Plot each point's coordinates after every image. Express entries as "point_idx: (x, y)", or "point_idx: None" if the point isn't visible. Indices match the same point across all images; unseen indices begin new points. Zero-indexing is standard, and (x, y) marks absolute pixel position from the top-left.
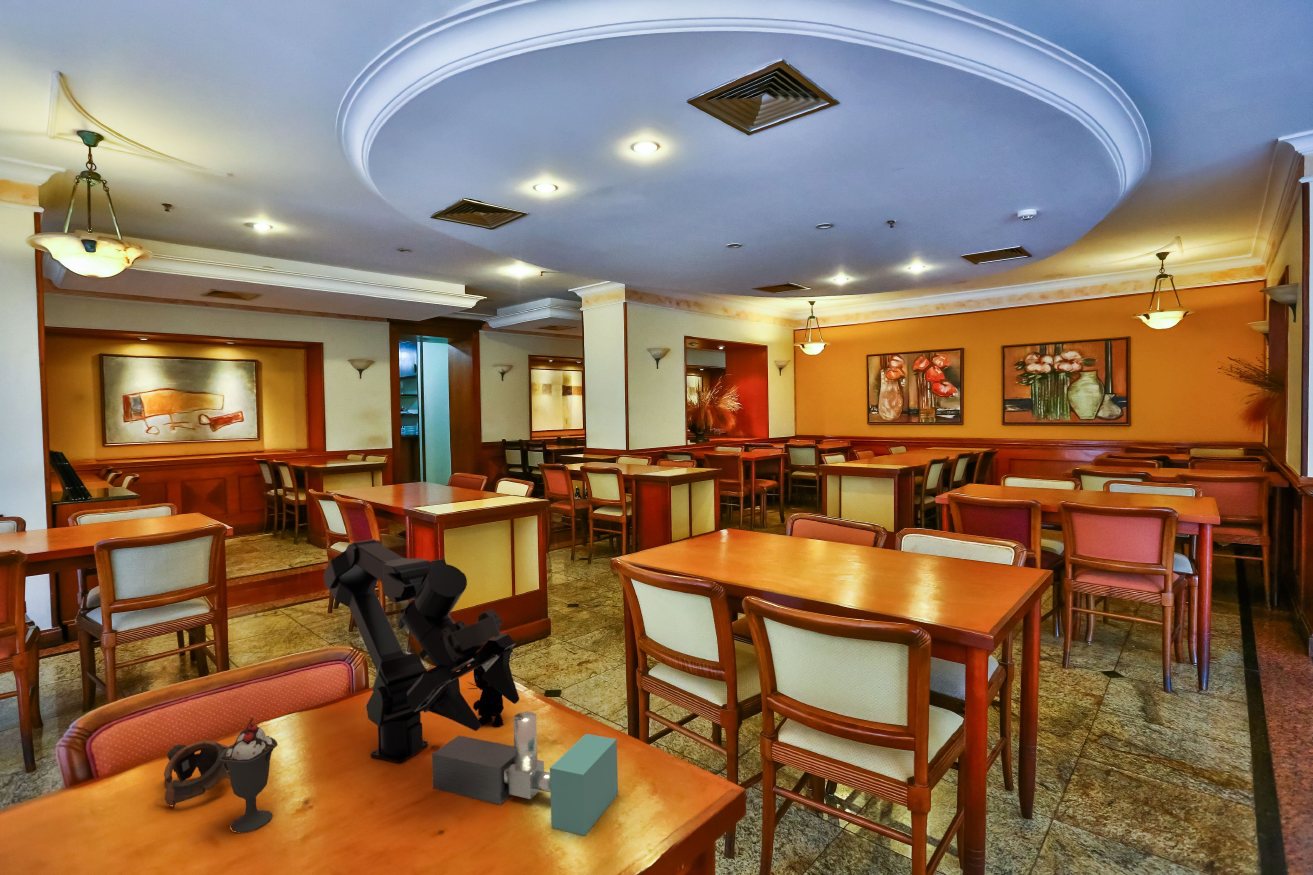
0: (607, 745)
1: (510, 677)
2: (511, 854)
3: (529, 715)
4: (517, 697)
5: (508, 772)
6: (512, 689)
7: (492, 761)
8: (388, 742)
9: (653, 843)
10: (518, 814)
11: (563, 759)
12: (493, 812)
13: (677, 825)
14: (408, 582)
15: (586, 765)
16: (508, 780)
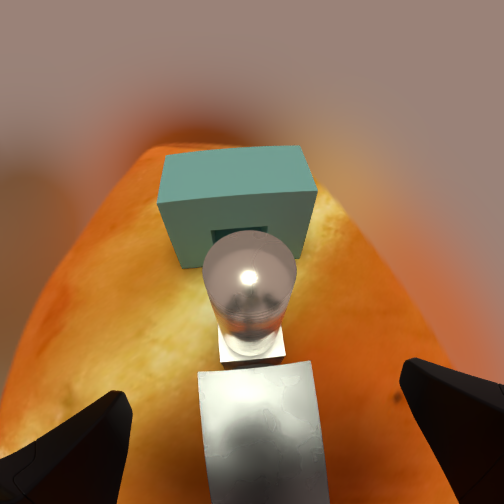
0: (192, 155)
1: (43, 449)
2: (370, 270)
3: (231, 259)
4: (116, 395)
5: (283, 357)
6: (100, 420)
7: (293, 402)
8: None
9: None
10: (300, 325)
11: (277, 185)
12: (319, 368)
13: None
14: None
15: (272, 152)
16: None
